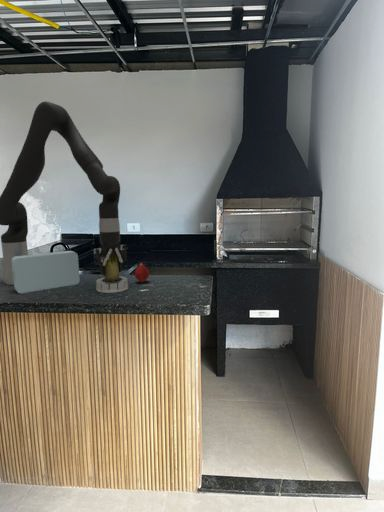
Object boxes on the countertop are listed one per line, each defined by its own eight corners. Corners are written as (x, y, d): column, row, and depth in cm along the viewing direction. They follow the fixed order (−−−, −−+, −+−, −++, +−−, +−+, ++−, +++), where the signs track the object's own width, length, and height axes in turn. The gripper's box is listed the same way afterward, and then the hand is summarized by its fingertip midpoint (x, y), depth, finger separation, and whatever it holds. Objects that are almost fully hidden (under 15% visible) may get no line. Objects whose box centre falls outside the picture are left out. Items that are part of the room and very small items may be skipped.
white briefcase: (75, 281, 144) (73, 250, 141) (79, 283, 139) (77, 251, 137) (14, 290, 130) (10, 256, 128) (17, 294, 125) (13, 258, 123)
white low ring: (90, 292, 127) (89, 283, 126) (105, 283, 138) (105, 275, 138) (120, 294, 124) (119, 284, 124) (133, 285, 136) (132, 276, 135)
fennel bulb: (104, 283, 128) (102, 252, 126) (104, 280, 133) (102, 250, 131) (120, 282, 130) (118, 251, 128) (119, 279, 134) (118, 249, 132)
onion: (142, 280, 144) (142, 261, 143) (152, 282, 141) (151, 263, 139) (132, 282, 140) (131, 263, 138) (141, 285, 136) (141, 265, 135)
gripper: (98, 232, 120) (100, 278, 123) (131, 229, 130) (132, 271, 133) (87, 231, 125) (89, 275, 128) (119, 228, 135) (121, 269, 138)
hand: (111, 273), depth 131 cm, fingers closed on fennel bulb, 6 cm apart
